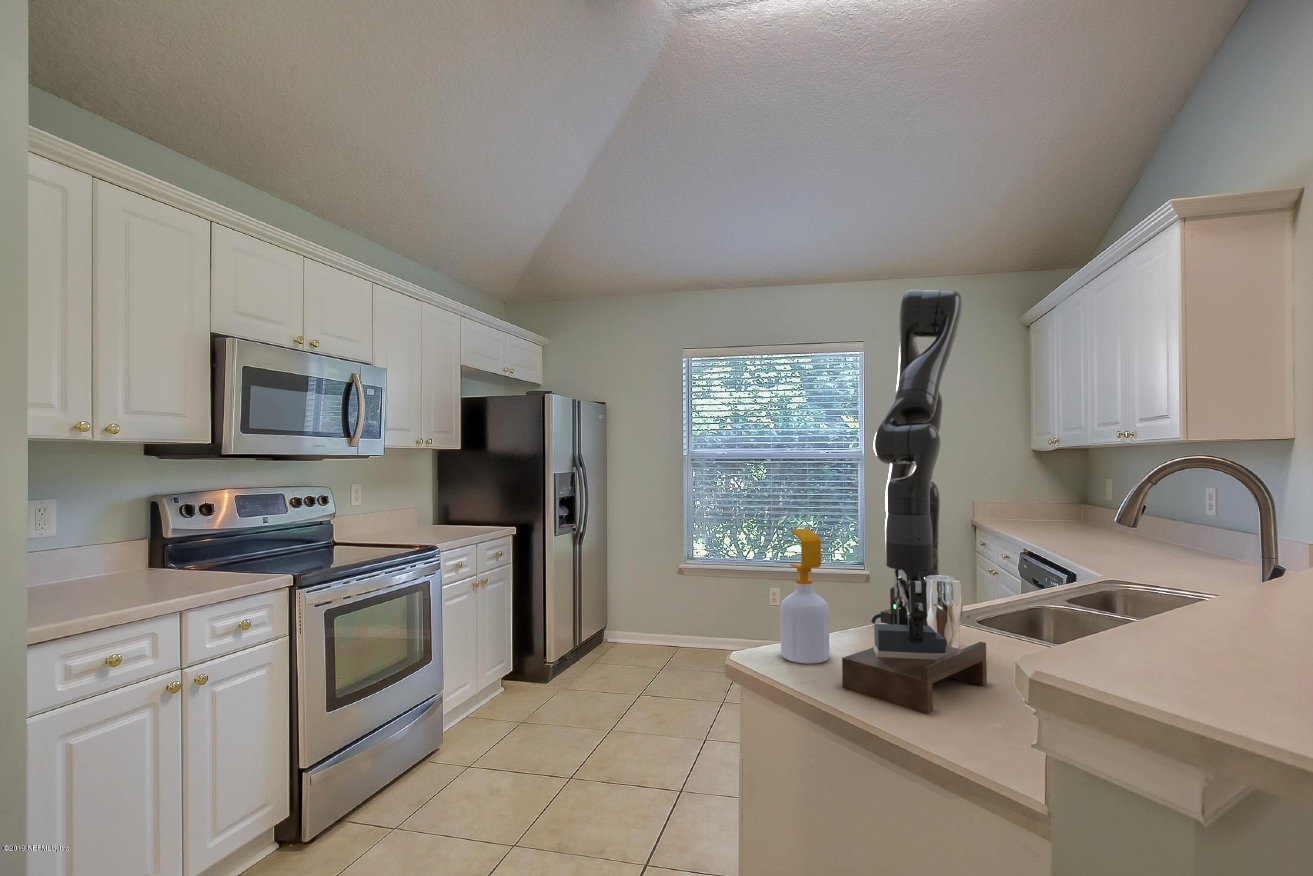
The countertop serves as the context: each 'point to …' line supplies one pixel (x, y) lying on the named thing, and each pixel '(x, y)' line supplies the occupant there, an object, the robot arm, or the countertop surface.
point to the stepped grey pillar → (907, 643)
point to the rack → (912, 674)
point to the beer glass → (944, 606)
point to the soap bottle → (805, 609)
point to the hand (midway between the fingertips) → (910, 636)
